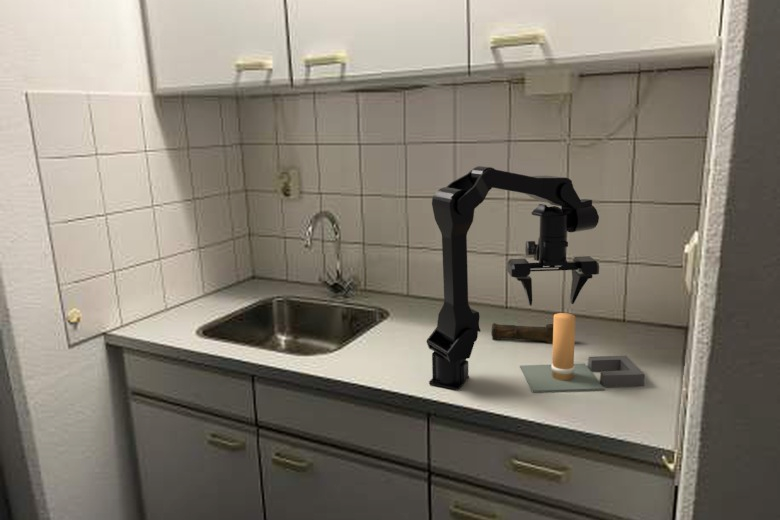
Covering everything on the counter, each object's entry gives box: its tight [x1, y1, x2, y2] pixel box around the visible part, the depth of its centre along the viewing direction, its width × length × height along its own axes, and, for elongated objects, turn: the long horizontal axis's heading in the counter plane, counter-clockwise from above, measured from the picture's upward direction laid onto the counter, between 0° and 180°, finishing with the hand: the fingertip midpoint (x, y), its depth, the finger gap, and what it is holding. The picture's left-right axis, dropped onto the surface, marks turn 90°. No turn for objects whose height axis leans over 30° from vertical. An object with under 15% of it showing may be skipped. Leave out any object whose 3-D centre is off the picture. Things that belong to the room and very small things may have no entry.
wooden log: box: [491, 322, 553, 345], centre depth 143 cm, size 19×4×5 cm, turn 72°
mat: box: [519, 363, 605, 393], centre depth 123 cm, size 14×12×1 cm
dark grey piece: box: [587, 355, 646, 388], centre depth 122 cm, size 8×9×2 cm
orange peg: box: [551, 312, 576, 381], centre depth 121 cm, size 4×4×13 cm
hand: (551, 304), depth 131 cm, fingers open, 9 cm apart
